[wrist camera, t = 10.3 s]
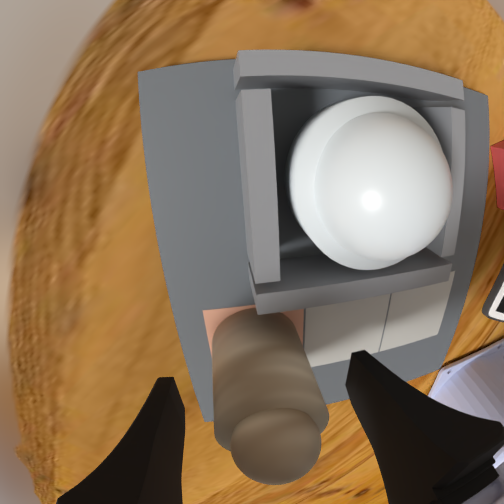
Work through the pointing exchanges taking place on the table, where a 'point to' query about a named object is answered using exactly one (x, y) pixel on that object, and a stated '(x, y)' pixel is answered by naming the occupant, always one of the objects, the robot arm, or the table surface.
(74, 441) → the table surface
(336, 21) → the table surface
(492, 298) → the cell phone
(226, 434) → the pawn
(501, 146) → the red die
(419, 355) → the game board
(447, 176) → the dome
